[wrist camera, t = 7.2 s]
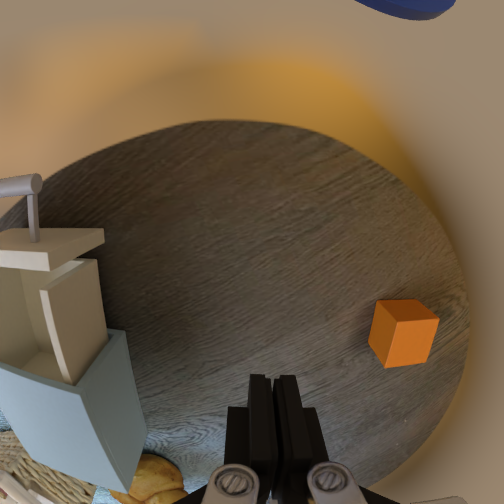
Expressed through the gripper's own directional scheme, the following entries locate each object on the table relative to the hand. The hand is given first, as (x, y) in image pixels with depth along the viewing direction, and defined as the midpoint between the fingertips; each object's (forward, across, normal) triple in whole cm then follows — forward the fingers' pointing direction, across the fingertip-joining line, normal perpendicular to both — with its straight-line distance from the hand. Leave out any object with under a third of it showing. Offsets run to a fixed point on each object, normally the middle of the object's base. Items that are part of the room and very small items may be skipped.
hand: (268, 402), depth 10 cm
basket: (+14, +36, +38) cm, 54 cm away
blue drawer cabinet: (+14, +18, +13) cm, 26 cm away
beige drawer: (+13, +18, +1) cm, 22 cm away
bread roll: (+14, +13, +29) cm, 35 cm away
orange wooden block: (+14, -13, +3) cm, 19 cm away
